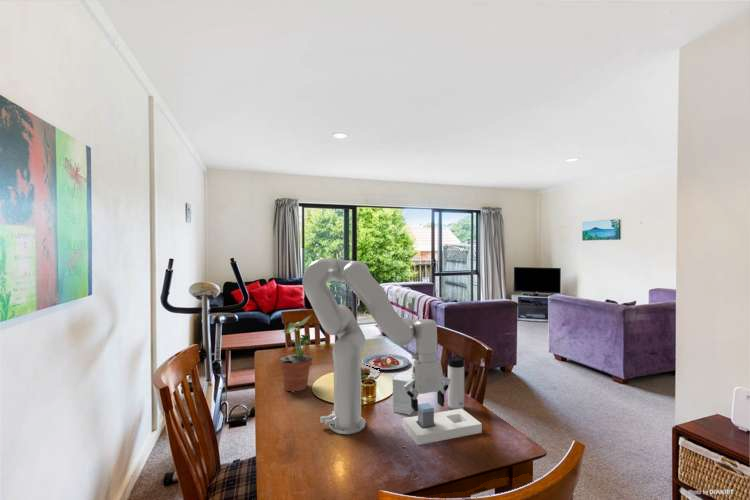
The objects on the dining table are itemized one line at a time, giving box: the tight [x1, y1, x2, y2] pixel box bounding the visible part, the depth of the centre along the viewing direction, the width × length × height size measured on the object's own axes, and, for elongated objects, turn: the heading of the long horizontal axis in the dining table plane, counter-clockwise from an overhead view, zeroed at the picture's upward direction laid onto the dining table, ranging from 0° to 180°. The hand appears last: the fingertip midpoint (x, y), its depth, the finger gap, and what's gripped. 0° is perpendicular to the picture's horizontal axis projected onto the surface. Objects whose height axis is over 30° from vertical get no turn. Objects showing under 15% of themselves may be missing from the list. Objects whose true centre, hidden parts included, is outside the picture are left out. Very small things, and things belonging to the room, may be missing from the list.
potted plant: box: [279, 314, 313, 392], centre depth 156 cm, size 16×15×35 cm
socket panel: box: [401, 409, 483, 446], centre depth 118 cm, size 24×12×3 cm, turn 109°
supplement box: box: [392, 372, 415, 416], centre depth 134 cm, size 7×7×13 cm
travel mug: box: [447, 355, 466, 410], centre depth 135 cm, size 6×7×20 cm
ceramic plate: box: [361, 353, 410, 371], centre depth 188 cm, size 26×26×3 cm
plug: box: [417, 402, 435, 429], centre depth 117 cm, size 4×4×9 cm
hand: (428, 407), depth 116 cm, fingers open, 9 cm apart
